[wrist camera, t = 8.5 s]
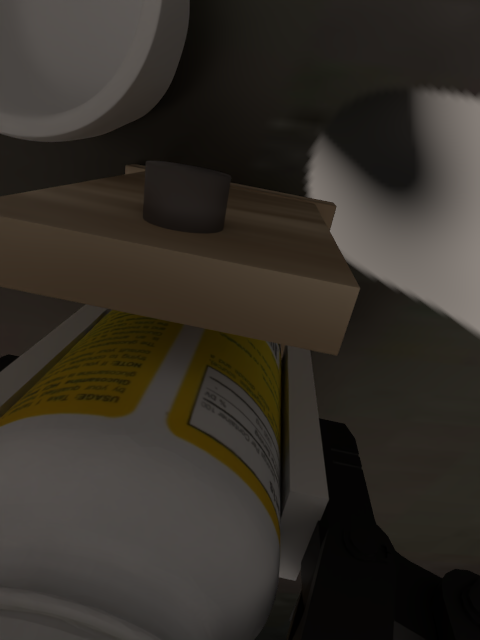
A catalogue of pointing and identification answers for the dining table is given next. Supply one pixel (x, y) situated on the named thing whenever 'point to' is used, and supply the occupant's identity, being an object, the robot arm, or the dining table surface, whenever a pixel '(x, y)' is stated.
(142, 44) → the teacup
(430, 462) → the dining table surface
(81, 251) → the holder
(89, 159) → the dining table surface
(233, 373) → the pill bottle
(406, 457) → the dining table surface
